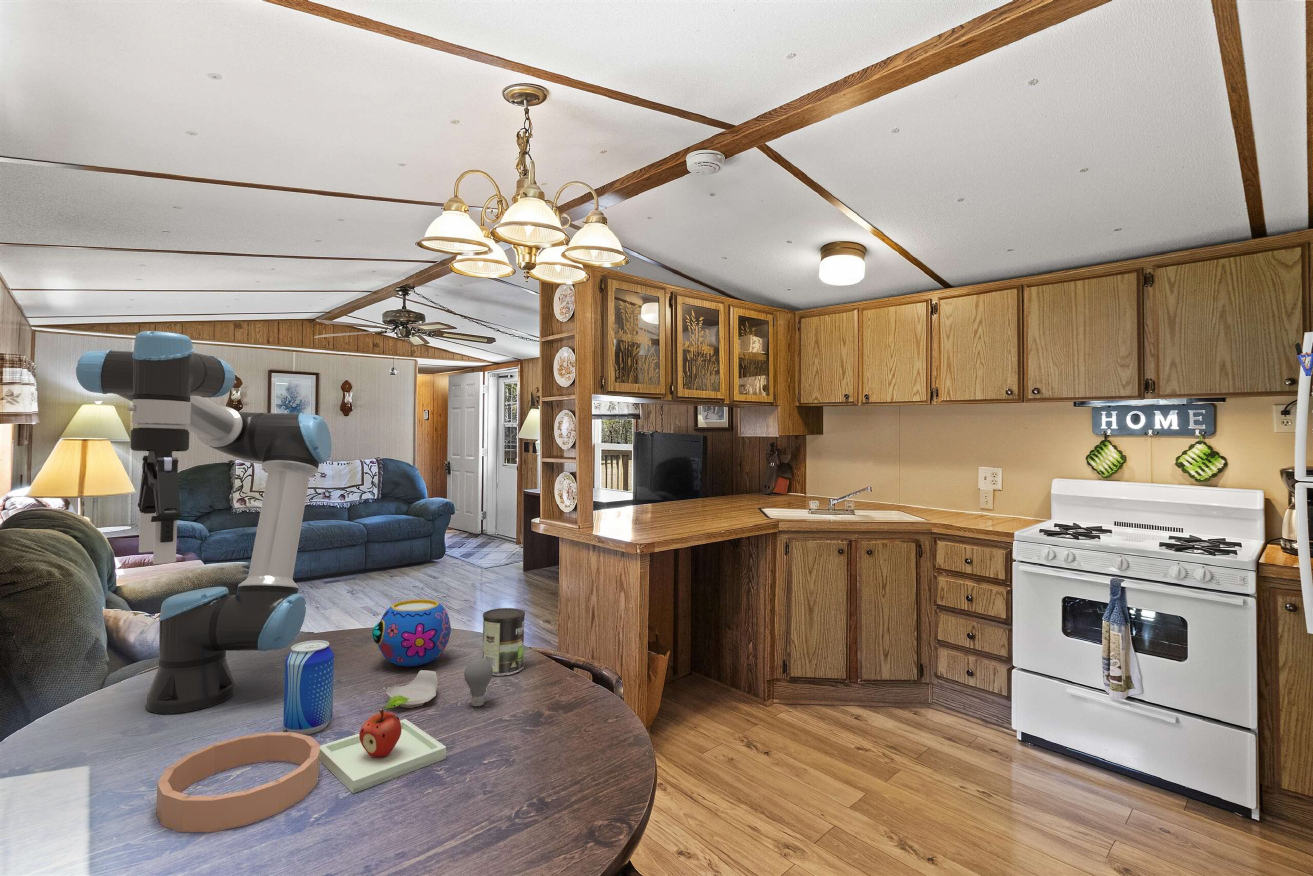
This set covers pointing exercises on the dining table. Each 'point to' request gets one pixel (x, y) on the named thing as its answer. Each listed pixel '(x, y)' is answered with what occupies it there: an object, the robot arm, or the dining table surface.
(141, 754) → the dining table surface
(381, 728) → the apple
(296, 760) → the ring band
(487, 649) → the coffee can
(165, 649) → the robot arm
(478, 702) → the light bulb
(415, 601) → the ceramic pot
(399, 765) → the tray
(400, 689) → the pottery shard
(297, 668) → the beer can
